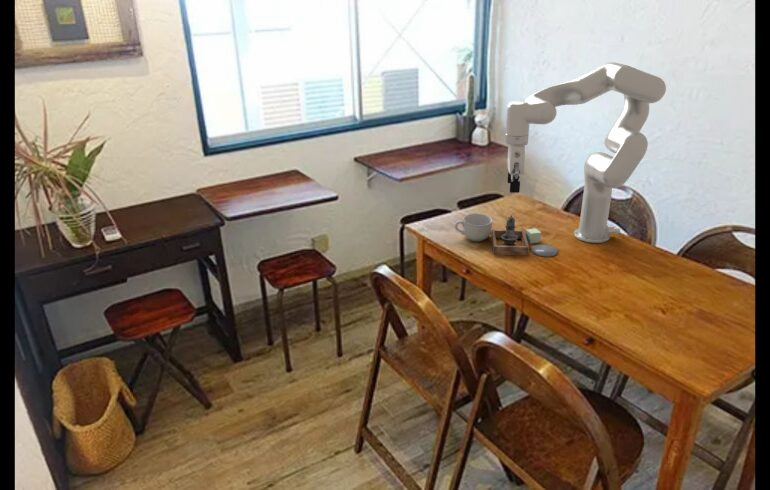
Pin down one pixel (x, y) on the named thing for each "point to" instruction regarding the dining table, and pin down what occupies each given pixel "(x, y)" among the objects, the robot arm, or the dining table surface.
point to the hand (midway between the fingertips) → (513, 187)
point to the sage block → (533, 235)
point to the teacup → (475, 226)
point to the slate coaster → (544, 250)
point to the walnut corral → (510, 249)
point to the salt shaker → (509, 233)
